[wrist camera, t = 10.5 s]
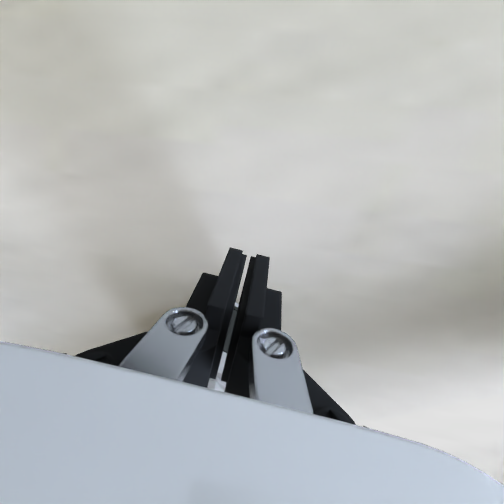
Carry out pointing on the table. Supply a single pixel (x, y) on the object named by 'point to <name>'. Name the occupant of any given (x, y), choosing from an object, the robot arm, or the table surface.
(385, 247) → the table surface
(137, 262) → the table surface
